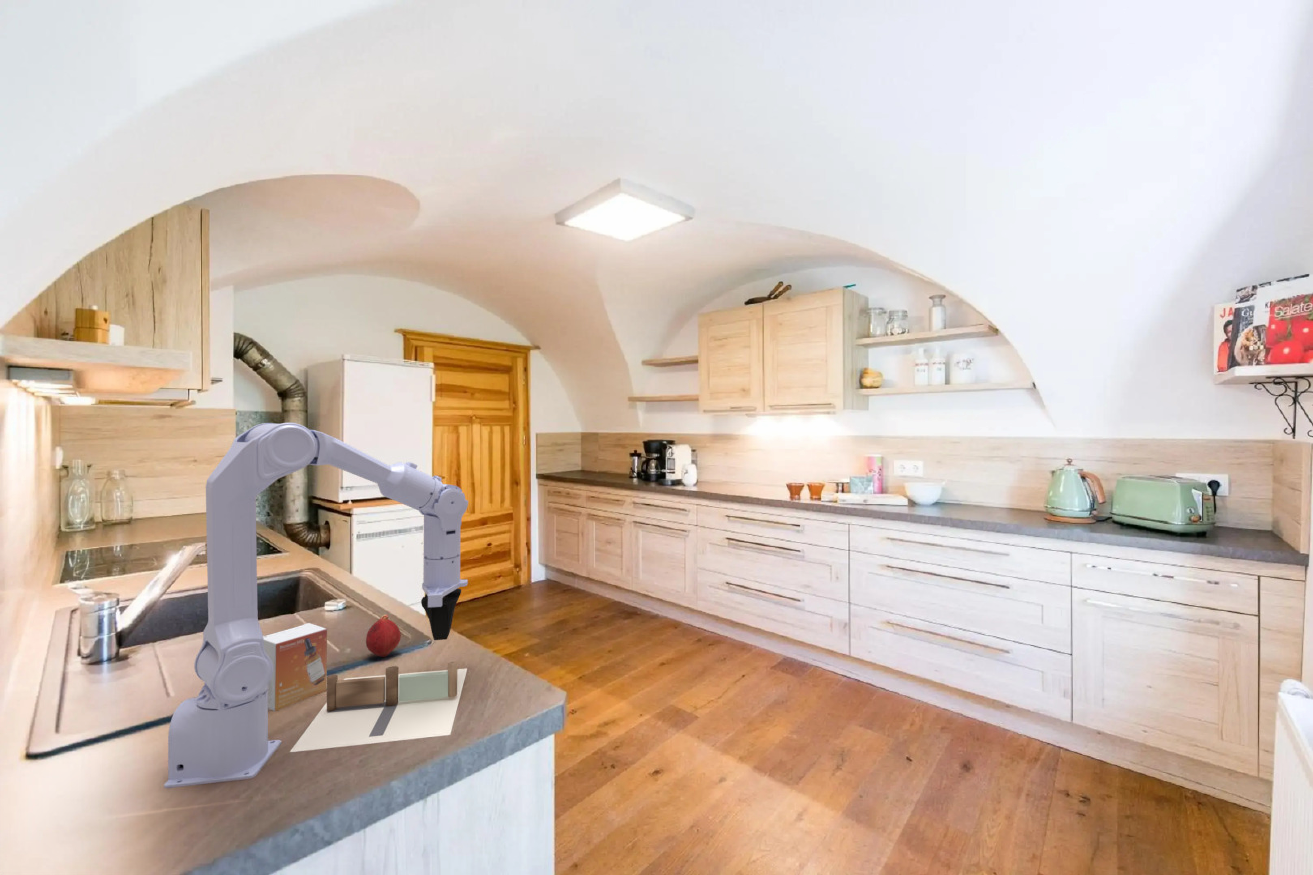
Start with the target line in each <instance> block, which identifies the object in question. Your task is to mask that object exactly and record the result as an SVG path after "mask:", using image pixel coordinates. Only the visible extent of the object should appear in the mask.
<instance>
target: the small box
mask: <svg viewBox="0 0 1313 875" xmlns="http://www.w3.org/2000/svg"><path fill="white" fill-rule="evenodd" d="M263 638H264V649H265V652H266V654H267V655H268V656H269V658H270V659H271V661H272V663H273V675H272V678H271V680H270V682H269V684H268V710H270V711H271V712H277V711H279V710H281V709H284V708H286V707H290V706H291V705H294V704H296V703H299V702H301V701H304V700H307V699H309V698H311V697H315V696H317V695H319V694H322V693H324V692H327V677H328V676H327V675H328V674H327V671H328V670H327V668H328V667H327V666H328V663H327V661H328V628H325V627H323V626H320V625H316V624H313V623H310V622H307V623H304V624H301V625H299V626H295V627H293V628H292V627H291V628H289V629H285V630H281V631H278V632H277V631H276V632H275V633H271V634H267V635H263Z"/></svg>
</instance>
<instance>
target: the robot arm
mask: <svg viewBox="0 0 1313 875" xmlns="http://www.w3.org/2000/svg"><path fill="white" fill-rule="evenodd" d="M309 465H311V466H326V465H329V466H332V467H334V468H337V469H339V470H342V471H343V472H347V473H349V474H352V475H353V476H354V475H355V476H357V477H360V478H362V479H364V480H367V481H370V482H372V483H375V484H377V486H378V487H377V488H378V490H379V492H380V494H381V495H382V496H383V497H385V498H387V499H390V500H393V501H394V502H397V503H400V504H402V505H405V506H407V507H409V508H412V509H414V510H417V511H418V512H419V513H420V514H421V515H422V516H423V569H422V570H423V572H422V573H423V580H422V581H423V582H422V584H421V590H423V592H424V594H425V596H423V597H422V598H421V599H420V600H421V601H420V603H421V606H422V608H423V609H424V611H425V613H426V615H427V618H428V621H429V626H430V629H431V635H432V639H433V640H434V641H442V640H443V641H444V640H448V637H449V636H450V632H451V629H452V624H453V620H454V619H453V618H454V614H455V608H456V605H457V602H458V600H459V598H460V596H461V594H462V589H461V588H460V587H468V584H469V582H468V579H461V526H462V518H463V516H464V514H465V513H466V512H467V509H468V506H469V500H467V499H466V496H465V493H464V492H463V490H462V489H461V488H460V487H459V486H457V485H455V484H445V483H443V482H442V477H441V476H439V475H433V476H432V475H430V474H427V473H425V472H423V471H421V470H419V469H417V468H418V465H417V464H415V463H413V462H411V461H406V462H401V461H399V462H395V463H392V464H390V465H389V464H387V463H385V462H383V461H381V460H380V459H377V458H375V457H373V456H371V455H369V454H368V453H365V452H363V451H362V450H360V449H357V448H356V447H354V446H352V445H350V444H348V443H347V442H344V441H342V440H340V439H338V438H336V437H334V436H332V435H329V434H327V433H325V432H322V431H318V430H315V429H309V428H308V427H306V426H305V425H303V424H299V423H296V422H283V423H274V422H265V423H264V422H263V423H259V424H256V425H254V426H252V427H250V428H249V429H248V430H246V431H244V432H242V433H241V434H240V435H238V436H236V437H235V438H234V439H233V442H232V444H231V446H230V448H229V449H228V451H227V452H226V453H225V455H224V456H223V457H222V459H221V460H220V462H219V463H218V464H217V466H215V468H214V470H213V471H212V472H211V474H209V476H208V478H207V480H206V483H205V512H206V513H205V515H206V516H205V518H206V519H205V520H206V521H205V522H206V523H205V524H206V558H207V559H206V563H207V564H206V565H207V566H206V568H207V569H206V571H207V609H208V610H207V612H208V613H207V616H208V618H207V619H208V621H207V623H206V626H205V628H203V631H202V632H203V634H202V637H203V639H202V644H201V647H200V649H199V651H198V652H197V654H196V656H195V660H194V663H193V665H194V666H193V668H194V673H195V674H196V676H197V677H198V678H199V679H200V680H201V681H203V682H204V685H203V686H202V687H201V689H200V691H199V693H198V695H197V696H196V697H191V698H186V699H184V700H183V701H181V703H180V704H179V705H178V706H177V707H176V709H175V711H174V713H173V715H172V717H171V720H170V724H169V728H168V743H167V744H168V746H167V748H168V749H167V750H168V753H167V755H168V758H167V759H168V761H167V762H168V764H167V765H168V768H167V770H168V772H167V773H168V774H167V778H168V780H167V781H166V782H165V783H164V784H163V785H164V786H163V787H164V788H165V789H170V788H179V787H188V786H197V785H205V784H213V783H223V782H224V783H225V782H229V781H231V782H232V781H241V780H247V779H252V778H255V777H256V776H257V775H258V773H259V772H260V771H261V769H263V767H264V766H265V764H266V763H267V762H268V761H269V759H270V758H271V757H272V755H273V754H274V753H275V751H276V750H278V748H279V747H280V746H281V744H282V740H280V739H275V740H274V739H273V740H269V709H268V684H269V682H270V680H271V678H272V675H273V663H272V661H271V659H270V658H269V656H268V655H267V654H266V652H265V649H264V638H263V636H264V635H263V631H262V628H261V626H260V621H259V619H258V616H259V614H258V611H259V610H258V563H257V559H258V558H257V512H256V510H257V509H256V508H257V507H256V506H257V505H256V503H257V502H256V501H257V500H256V499H257V497H258V495H259V494H261V493H262V492H264V491H265V490H266V489H267V488H268V487H270V486H271V485H273V483H274V482H276V481H277V480H279V479H281V478H283V477H286V476H288V475H291V474H293V473H296V472H297V471H300V470H301V469H302V470H303V469H304V468H307V466H309Z"/></svg>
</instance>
